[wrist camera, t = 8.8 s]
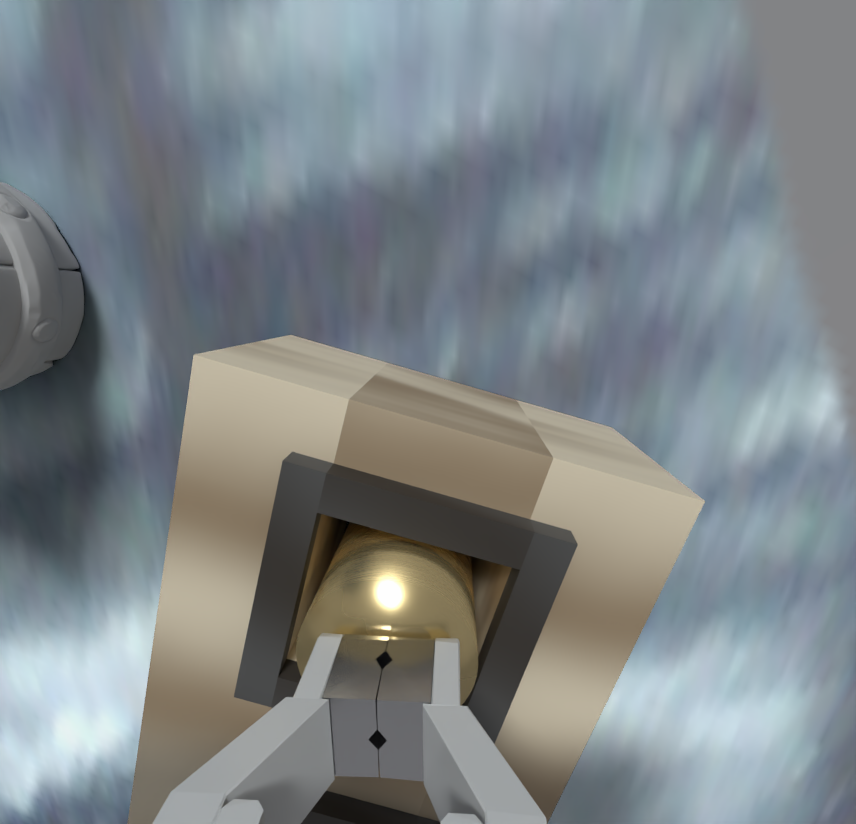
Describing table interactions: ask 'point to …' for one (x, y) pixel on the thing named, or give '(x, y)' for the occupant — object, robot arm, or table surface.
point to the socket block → (407, 517)
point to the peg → (395, 596)
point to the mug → (34, 290)
